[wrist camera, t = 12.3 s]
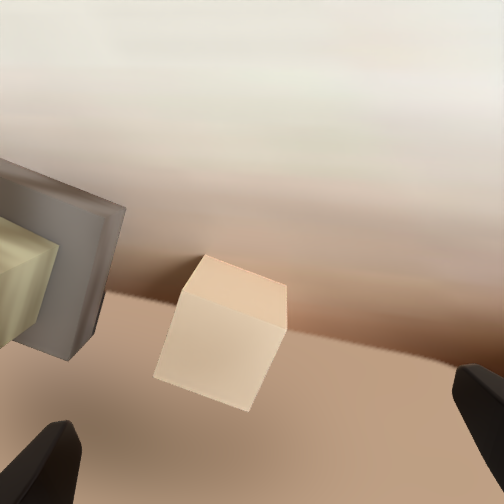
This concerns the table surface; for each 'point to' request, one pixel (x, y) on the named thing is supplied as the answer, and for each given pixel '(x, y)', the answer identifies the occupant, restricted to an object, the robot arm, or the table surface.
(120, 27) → the table surface
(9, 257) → the sage block
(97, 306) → the slate slab
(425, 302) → the table surface
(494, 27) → the table surface
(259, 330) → the ivory cube
